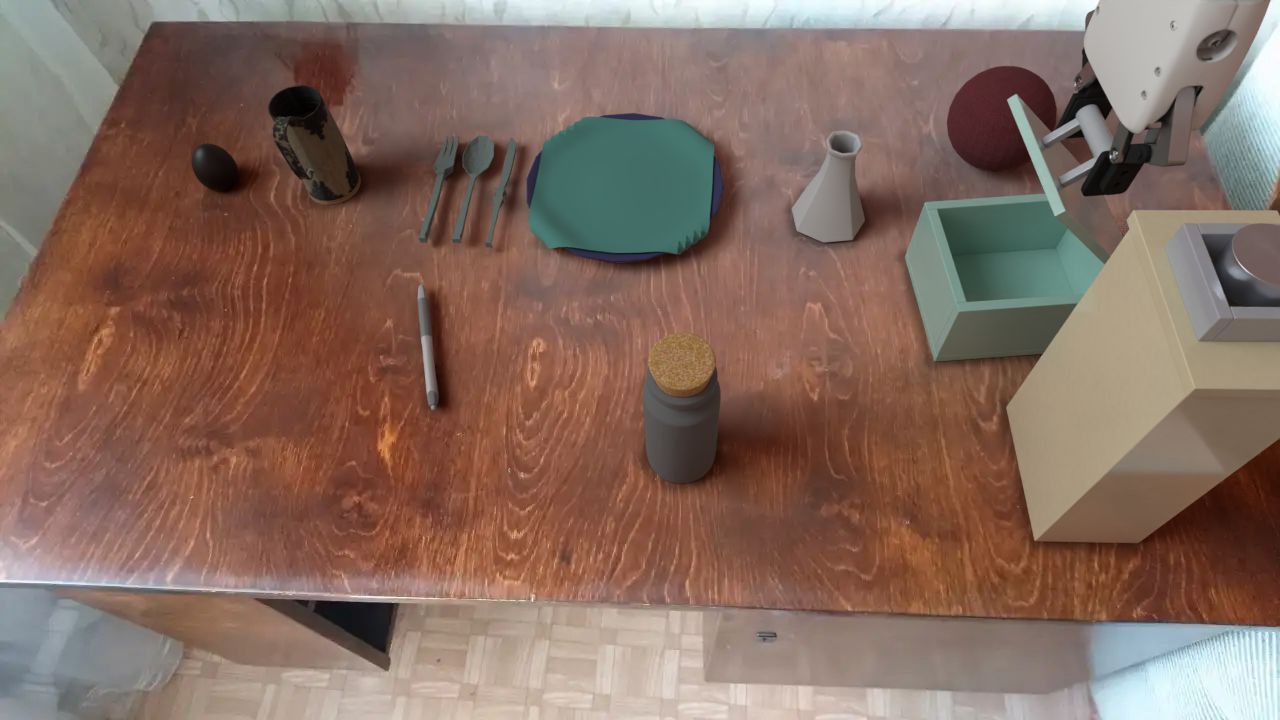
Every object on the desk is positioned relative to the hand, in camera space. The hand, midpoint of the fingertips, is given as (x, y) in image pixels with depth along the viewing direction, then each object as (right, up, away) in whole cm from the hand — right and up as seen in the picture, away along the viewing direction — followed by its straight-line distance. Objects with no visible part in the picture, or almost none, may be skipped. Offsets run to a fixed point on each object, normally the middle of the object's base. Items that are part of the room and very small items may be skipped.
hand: (1088, 161), depth 64 cm
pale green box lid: (+1, -2, +4) cm, 4 cm away
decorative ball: (+2, +6, +25) cm, 26 cm away
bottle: (-30, -23, +9) cm, 39 cm away
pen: (-53, -14, +15) cm, 57 cm away
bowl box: (0, -9, +15) cm, 18 cm away
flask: (-15, -1, +22) cm, 26 cm away
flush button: (+1, -10, -16) cm, 19 cm away
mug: (-65, +3, +26) cm, 70 cm away
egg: (-77, +4, +27) cm, 82 cm away
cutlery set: (-40, +2, +24) cm, 47 cm away
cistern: (+2, -24, +6) cm, 25 cm away
